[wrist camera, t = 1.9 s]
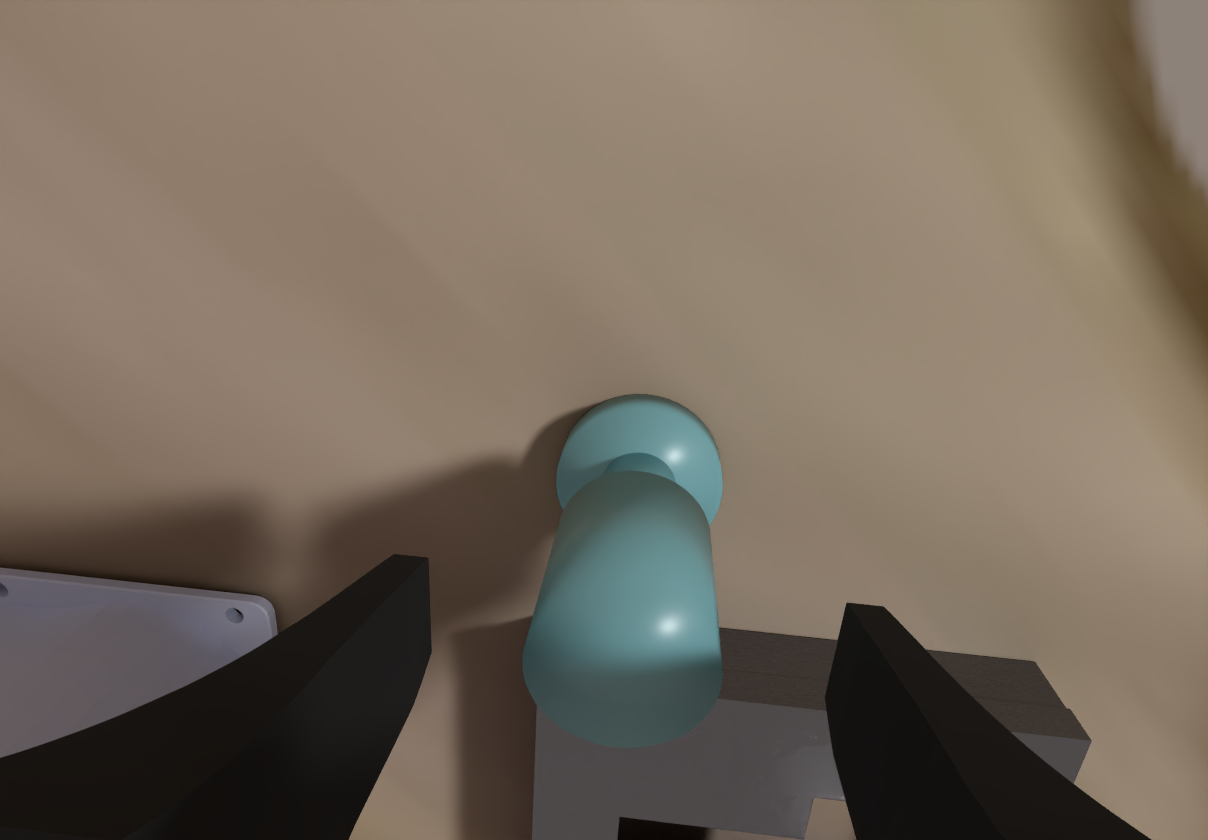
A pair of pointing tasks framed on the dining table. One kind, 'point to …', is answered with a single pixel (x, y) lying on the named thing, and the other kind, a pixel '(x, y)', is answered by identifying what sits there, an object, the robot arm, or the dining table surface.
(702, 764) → the keyhole plate
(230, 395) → the dining table surface
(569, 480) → the peg
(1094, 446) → the dining table surface
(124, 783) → the robot arm
